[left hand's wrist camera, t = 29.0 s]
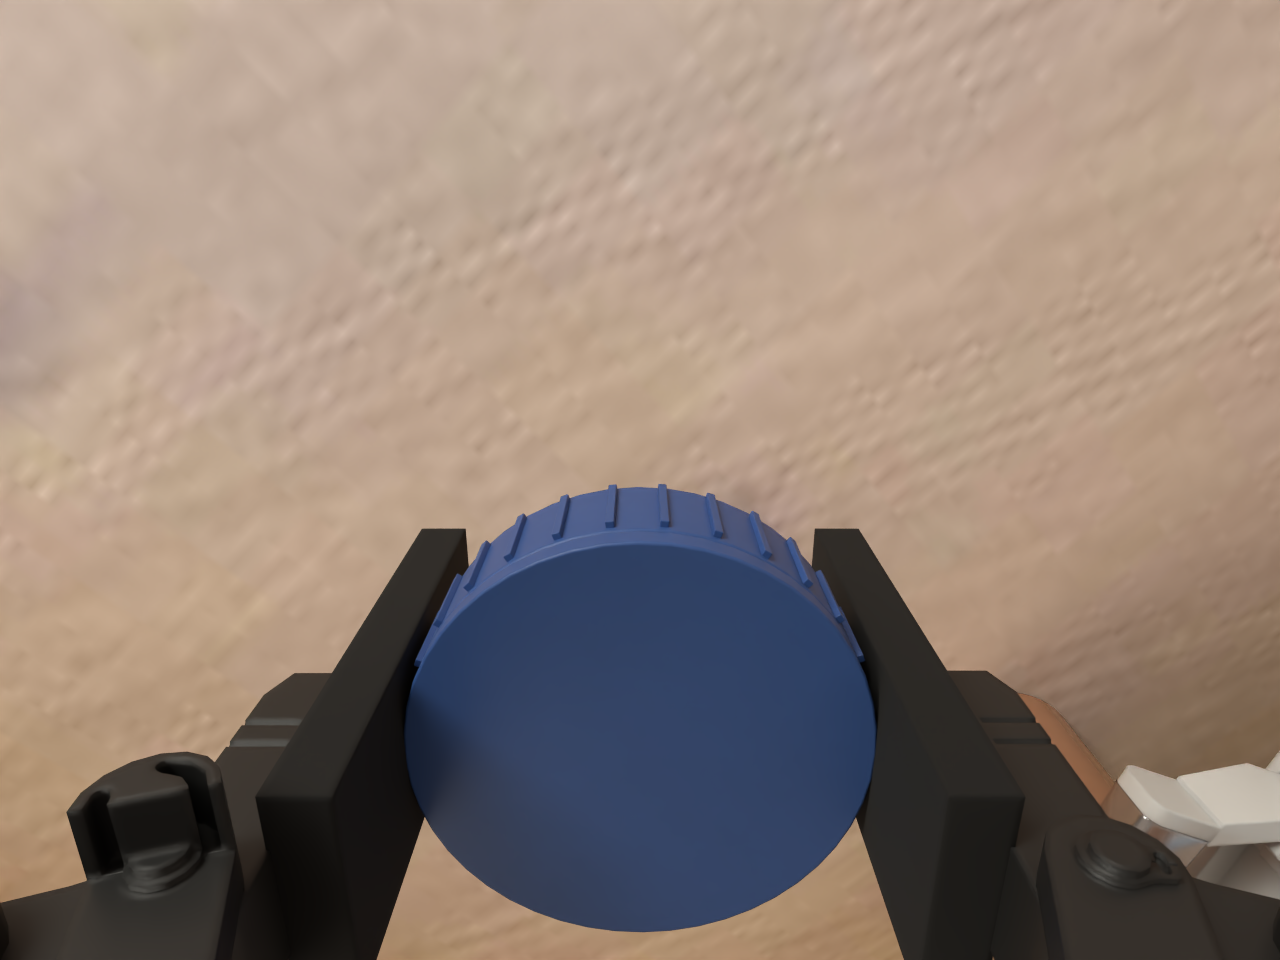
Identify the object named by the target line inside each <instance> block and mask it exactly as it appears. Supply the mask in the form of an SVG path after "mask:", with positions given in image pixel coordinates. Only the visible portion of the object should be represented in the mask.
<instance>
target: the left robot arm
mask: <svg viewBox="0 0 1280 960" xmlns="http://www.w3.org/2000/svg"><path fill="white" fill-rule="evenodd" d="M468 567H469V565H468V552H467V540H466V529H422V530H421V531H420V533H419V535H418V536H417V538H416V539H415V541H414V543H413V544H412V546H411V547H410V549H409V551H408V552H407V554H406V555H405V557H404V559H403V560H402V562H401V563H400V565H399V567H398V568H397V570H396V571H395V573H394V575H393V576H392V578H391V579H390V581H389V583H388V584H387V586H386V587H385V589H384V591H383V592H382V594H381V595H380V597H379V599H378V600H377V602H376V603H375V605H374V607H373V608H372V610H371V611H370V613H369V615H368V616H367V618H366V620H365V621H364V623H363V624H362V626H361V628H360V629H359V631H358V632H357V634H356V636H355V637H354V639H353V640H352V642H351V644H350V645H349V647H348V648H347V650H346V652H345V653H344V655H343V656H342V658H341V660H340V661H339V663H338V664H337V666H336V668H335V669H334V671H333V672H332V673H294V674H293V675H291V676H290V677H289V678H287V679H286V680H284V681H283V682H282V683H280V684H279V685H277V686H276V687H275V688H273V689H272V690H270V691H269V692H268V693H266V694H265V695H264V696H263V697H262V698H261V700H260V701H259V703H258V704H257V705H256V707H255V708H254V709H253V711H252V712H251V714H250V715H249V716H248V718H247V719H246V720H245V721H246V723H245V725H242V726H241V727H240V729H239V730H238V731H237V733H236V734H235V735H234V737H233V738H232V740H231V741H230V746H229V747H226V748H225V749H224V751H223V752H222V753H221V755H220V756H219V757H218V759H217V760H216V762H214V761H212V760H211V759H210V758H209V757H208V756H204V755H199V754H195V753H190V752H177V753H163V754H158V755H154V756H151V757H147V758H144V759H140V760H136V761H133V762H131V763H128V764H126V765H124V766H122V767H120V768H118V769H116V770H114V771H112V772H110V773H108V774H106V775H104V776H103V777H101V778H100V779H99V780H97V781H96V782H95V783H93V784H92V785H91V786H89V787H88V788H87V789H85V790H84V791H83V792H81V793H80V795H79V796H78V797H77V799H76V800H75V801H74V803H73V804H72V805H71V807H70V808H69V809H68V811H67V816H68V819H69V822H70V825H71V829H72V832H73V835H74V839H75V842H76V845H77V848H78V852H79V855H80V858H81V861H82V865H83V868H84V871H85V874H86V878H87V881H85V882H82V883H79V884H76V885H72V886H69V887H65V888H61V889H57V890H52V891H48V892H44V893H40V894H36V895H32V896H27V897H23V898H19V899H15V900H11V901H6V902H2V903H0V960H376V959H377V956H378V953H379V951H380V948H381V945H382V942H383V939H384V936H385V933H386V930H387V927H388V924H389V921H390V918H391V915H392V912H393V909H394V906H395V903H396V900H397V897H398V894H399V891H400V888H401V885H402V882H403V879H404V876H405V874H406V871H407V868H408V865H409V862H410V859H411V856H412V853H413V850H414V847H415V844H416V841H417V838H418V835H419V832H420V829H421V826H422V823H423V820H424V817H425V816H424V814H423V812H422V811H421V809H420V807H419V804H418V802H417V799H416V796H415V794H414V791H413V788H412V786H411V783H410V778H409V774H408V769H407V761H406V753H405V744H404V723H405V713H406V705H407V702H408V698H409V694H410V690H411V687H412V683H413V680H414V678H415V675H416V673H417V671H418V669H419V667H417V666H414V663H415V660H416V658H417V656H418V654H419V652H420V649H421V647H422V645H423V643H424V641H425V639H426V637H427V634H428V632H429V630H430V628H431V626H432V624H433V622H434V619H435V617H436V615H437V613H438V611H439V610H440V608H441V606H442V604H443V601H444V599H445V597H446V595H447V593H448V591H449V589H450V586H451V584H452V582H453V580H454V578H455V577H456V575H457V574H459V575H461V576H463V575H464V573H465V572H466V570H467V569H468ZM812 568H813V570H814V571H815V572H817V571H819V570H821V571H822V572H823V574H824V576H825V578H826V580H827V582H828V584H829V587H830V589H831V591H832V593H833V595H834V597H835V599H836V602H837V604H838V606H839V607H841V608H842V611H843V613H844V615H845V617H846V619H847V621H848V623H849V625H850V628H851V630H852V632H853V634H854V636H855V638H856V640H857V643H858V645H859V647H860V649H861V651H862V653H863V656H864V658H865V661H864V662H861V663H860V664H861V666H862V669H863V671H864V673H865V675H866V678H867V681H868V685H869V688H870V691H871V695H872V698H873V701H874V709H875V716H876V724H877V738H876V750H875V758H874V766H873V773H872V778H871V782H870V785H869V787H868V790H867V793H866V796H865V799H864V802H863V804H862V806H861V808H860V810H859V812H858V814H857V816H856V819H857V822H858V825H859V828H860V831H861V834H862V836H863V839H864V842H865V845H866V848H867V851H868V854H869V857H870V860H871V863H872V866H873V869H874V872H875V875H876V878H877V881H878V884H879V887H880V890H881V893H882V896H883V899H884V902H885V905H886V908H887V911H888V913H889V916H890V919H891V922H892V925H893V928H894V931H895V934H896V937H897V940H898V943H899V946H900V949H901V952H902V955H903V958H904V960H992V959H993V958H994V960H1280V899H1276V898H1272V897H1268V896H1263V895H1259V894H1255V893H1251V892H1247V891H1242V890H1238V889H1234V888H1230V887H1226V886H1221V885H1217V884H1213V883H1210V882H1206V881H1203V880H1200V879H1197V878H1194V877H1192V876H1191V875H1190V873H1189V872H1188V870H1187V869H1186V867H1185V866H1184V864H1183V863H1182V861H1181V860H1180V858H1179V857H1178V856H1176V855H1175V854H1174V853H1173V852H1172V851H1171V850H1169V849H1168V848H1167V847H1166V846H1165V845H1164V844H1162V843H1161V842H1160V841H1159V840H1158V839H1156V838H1154V837H1152V836H1150V835H1149V834H1147V833H1145V832H1143V831H1141V830H1139V829H1138V828H1136V827H1134V826H1132V825H1130V824H1126V823H1123V822H1120V821H1117V820H1114V819H1110V818H1109V817H1108V816H1107V814H1106V813H1105V812H1104V810H1103V809H1102V807H1101V806H1100V805H1099V803H1098V802H1097V801H1096V799H1095V798H1094V797H1093V795H1092V794H1091V792H1090V791H1089V790H1088V788H1087V787H1086V786H1085V784H1084V783H1083V782H1082V780H1081V779H1080V778H1079V776H1078V775H1077V773H1076V772H1075V771H1074V769H1073V768H1072V767H1071V765H1070V764H1069V763H1068V761H1067V760H1066V758H1065V757H1064V756H1063V754H1062V753H1061V752H1060V750H1059V749H1058V748H1057V746H1056V745H1055V744H1052V743H1051V738H1050V737H1049V735H1048V734H1047V733H1046V731H1045V730H1044V728H1043V727H1042V726H1041V724H1040V723H1036V718H1035V716H1034V715H1033V713H1032V712H1031V711H1030V709H1029V708H1028V707H1027V705H1026V704H1025V703H1024V701H1023V700H1022V699H1021V697H1020V696H1019V694H1018V693H1017V692H1016V691H1014V690H1013V689H1011V688H1010V687H1009V686H1007V685H1006V684H1004V683H1003V682H1002V681H1000V680H999V679H997V678H996V677H995V676H993V675H992V674H990V673H989V672H987V671H947V670H946V668H945V667H944V665H943V664H942V662H941V660H940V659H939V657H938V656H937V654H936V652H935V651H934V649H933V648H932V646H931V644H930V643H929V641H928V639H927V638H926V636H925V635H924V633H923V631H922V630H921V628H920V627H919V625H918V623H917V622H916V620H915V619H914V617H913V615H912V614H911V612H910V611H909V609H908V607H907V606H906V604H905V603H904V601H903V599H902V598H901V596H900V595H899V593H898V591H897V590H896V588H895V587H894V585H893V583H892V582H891V580H890V579H889V577H888V575H887V574H886V572H885V571H884V569H883V567H882V566H881V564H880V563H879V561H878V559H877V558H876V556H875V555H874V553H873V551H872V550H871V548H870V547H869V545H868V543H867V542H866V540H865V539H864V537H863V535H862V534H861V532H860V530H859V529H815V534H814V547H813V559H812Z"/></svg>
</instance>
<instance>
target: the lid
mask: <svg viewBox="0 0 1280 960" xmlns="http://www.w3.org/2000/svg"><path fill="white" fill-rule="evenodd" d="M864 661H865V658H864V656H863V653H862V651H861V649H860V647H859V645H858V643H857V640H856V638H855V636H854V634H853V632H852V630H851V628H850V625H849V623H848V621H847V619H846V617H845V615H844V613H843V611H842V608H841V607H839V606H838V604H837V602H836V599H835V597H834V595H833V593H832V591H831V589H830V587H829V584H828V582H827V580H826V578H825V576H824V574H823V572H822V571H821V570H819V571H817V572H815V571H814V570H813V568H812V567H811V565H810V564H809V563H808V562H807V561H806V559H805V558H804V557H803V556H802V555H801V553H800V551H799V549H798V546H797V544H796V542H795V540H793V539H792V538H791V537H790V538H789V539H788V540H786V539H784V538H783V537H782V536H781V535H780V534H778V533H777V532H776V531H775V530H773V529H772V528H771V527H769V526H768V525H766V524H764V523H763V522H761V520H760V517H759V515H758V514H757V513H755V512H754V511H752V512H751V513H750V514H748V513H746V512H744V511H742V510H739V509H737V508H735V507H733V506H730V505H728V504H726V503H724V502H721V501H718V500H716V499H715V495H713V494H710V493H707V495H706V497H705V496H701V495H698V494H695V493H689V492H683V491H677V490H672V489H667V487H666V485H665V484H659V485H658V488H643V487H634V488H620V489H617V485H609V488H608V490H603V491H598V492H593V493H587V494H582V495H578V496H575V497H572V498H569V495H568V494H567V495H564V496H561V498H560V502H557V503H554V504H552V505H550V506H548V507H546V508H544V509H541V510H539V511H537V512H535V513H533V514H531V515H529V516H527V517H526V516H525V514H522V515H520V516H518V518H517V520H516V523H515V525H513V526H512V527H510V528H509V529H507V530H506V531H504V532H503V533H502V534H501V535H500V536H499V537H497V538H496V539H495V540H494V541H493V542H492V543H491V544H490V543H489V542H488V541H485V542H484V543H483V544H482V545H481V547H480V550H479V552H478V554H477V557H476V559H475V560H474V562H473V563H472V564H471V565H470V566H469V567H468V569H467V570H466V572H465V573H464V575H463V576H461V575H459V574H457V575H456V577H455V578H454V580H453V582H452V584H451V586H450V589H449V591H448V593H447V595H446V597H445V599H444V601H443V604H442V606H441V608H440V610H439V611H438V613H437V615H436V617H435V619H434V622H433V624H432V626H431V628H430V630H429V632H428V634H427V637H426V639H425V641H424V643H423V645H422V647H421V649H420V652H419V654H418V656H417V658H416V660H415V663H414V666H417V667H419V669H418V671H417V673H416V675H415V678H414V680H413V683H412V687H411V690H410V694H409V698H408V702H407V705H406V713H405V723H404V744H405V753H406V761H407V769H408V774H409V778H410V783H411V786H412V788H413V791H414V794H415V796H416V799H417V802H418V804H419V807H420V809H421V811H422V812H423V814H424V816H425V818H426V820H427V821H428V823H429V825H430V827H431V828H432V830H433V831H434V833H435V834H436V835H437V837H438V838H439V839H440V841H441V842H442V843H443V845H444V846H445V847H446V849H447V850H448V851H449V852H450V853H451V854H452V855H453V856H454V857H455V858H456V859H457V860H458V861H459V862H460V863H461V864H462V865H463V866H464V867H465V868H466V869H467V870H468V871H469V872H470V873H472V874H473V875H474V876H476V877H477V878H478V879H479V880H481V881H482V882H483V883H484V884H486V885H487V886H488V887H490V888H492V889H493V890H495V891H496V892H498V893H500V894H501V895H503V896H505V897H506V898H508V899H509V900H511V901H513V902H516V903H518V904H520V905H522V906H524V907H526V908H528V909H530V910H532V911H534V912H537V913H540V914H543V915H546V916H549V917H551V918H554V919H557V920H560V921H564V922H568V923H572V924H576V925H580V926H584V927H589V928H597V929H604V930H611V931H626V932H654V931H671V930H678V929H684V928H690V927H697V926H701V925H705V924H709V923H713V922H716V921H720V920H724V919H727V918H730V917H732V916H735V915H738V914H741V913H743V912H746V911H749V910H751V909H753V908H755V907H757V906H759V905H761V904H763V903H765V902H767V901H769V900H771V899H773V898H775V897H777V896H778V895H780V894H781V893H783V892H784V891H786V890H787V889H789V888H791V887H792V886H794V885H795V884H797V883H798V882H799V881H801V880H802V879H803V878H804V877H805V876H807V875H808V874H809V873H810V872H811V871H813V870H814V869H815V868H816V867H817V866H818V865H819V864H820V863H821V862H822V861H823V860H824V859H825V858H826V857H827V856H828V855H829V854H830V853H831V852H832V851H833V850H834V848H835V847H836V846H837V845H838V843H839V842H840V841H841V839H842V838H843V836H844V835H845V834H846V832H847V831H848V829H849V828H850V827H851V825H852V823H853V821H854V819H855V817H856V816H857V814H858V812H859V810H860V808H861V806H862V804H863V802H864V799H865V796H866V793H867V790H868V787H869V785H870V782H871V778H872V773H873V766H874V758H875V750H876V738H877V724H876V716H875V709H874V701H873V698H872V695H871V691H870V688H869V685H868V681H867V678H866V675H865V673H864V671H863V669H862V666H861V664H860V663H861V662H864Z"/></svg>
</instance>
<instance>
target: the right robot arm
mask: <svg viewBox="0 0 1280 960" xmlns="http://www.w3.org/2000/svg"><path fill="white" fill-rule="evenodd" d="M1100 806H1101V807H1102V809H1103V810H1104V812H1105V813H1106V814H1107V816H1108V817H1109V818H1110V819H1114V820H1117V821H1120V822H1123V823H1126V824H1130V825H1132V826H1134V827H1136V828H1138V829H1139V830H1141V831H1143V832H1145V833H1147V834H1149V835H1150V836H1152V837H1154V838H1156V839H1158V840H1159V841H1160V842H1161V843H1162V844H1164V845H1165V846H1166V847H1167V848H1168V849H1169V850H1171V851H1172V852H1173V853H1174V854H1175V855H1176V856H1178V857H1179V858H1180V860H1181V861H1182V863H1183V864H1184V866H1185V867H1186V869H1187V870H1188V872H1189V873H1190V875H1191V876H1192V877H1194V878H1197V879H1200V880H1203V881H1206V882H1210V883H1213V884H1217V885H1221V886H1226V887H1230V888H1234V889H1238V890H1242V891H1247V892H1251V893H1255V894H1259V895H1263V896H1268V897H1272V898H1276V899H1280V751H1279V752H1278V753H1277V754H1276V756H1275V757H1274V758H1273V759H1272V761H1271V762H1270V763H1269V764H1268V766H1267V767H1266V768H1265V769H1264V768H1261V767H1258V766H1255V765H1252V764H1249V763H1244V764H1239V765H1233V766H1228V767H1223V768H1218V769H1213V770H1208V771H1202V772H1197V773H1192V774H1187V775H1182V776H1179V777H1178V778H1177V779H1173V778H1170V777H1167V776H1164V775H1161V774H1158V773H1155V772H1152V771H1149V770H1146V769H1143V768H1140V767H1137V766H1134V765H1127V766H1126V768H1125V769H1124V771H1123V772H1122V774H1121V775H1120V777H1119V778H1118V779H1117V780H1116V782H1115V783H1114V785H1113V786H1112V788H1111V789H1110V791H1109V792H1108V794H1107V795H1106V797H1105V798H1104V800H1103V801H1102V803H1101V804H1100ZM992 960H994V958H993V959H992Z"/></svg>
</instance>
